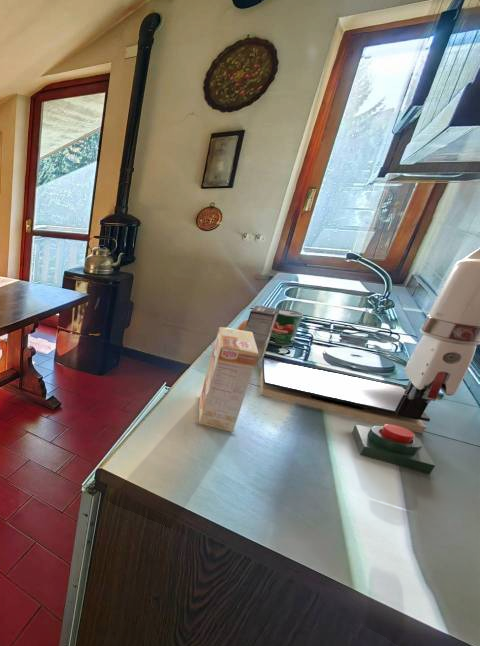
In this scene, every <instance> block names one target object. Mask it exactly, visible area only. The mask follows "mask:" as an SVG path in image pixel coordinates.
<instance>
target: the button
mask: <svg viewBox="0 0 480 646" xmlns="http://www.w3.org/2000/svg"><path fill="white" fill-rule="evenodd" d="M383 426H384V427H383V429H382V431H381V434H382V435H383V436H385V437H387V438H389V439H392V440H394V441H397V442H401V443H411V441H412V440H413V438H414V436H415V435H416V434H415V432H414V431H410V430H408V429H405V428H403V427H400V426H396V425H390V424H387V425H385V424H383ZM415 437H416V436H415Z"/></svg>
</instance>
